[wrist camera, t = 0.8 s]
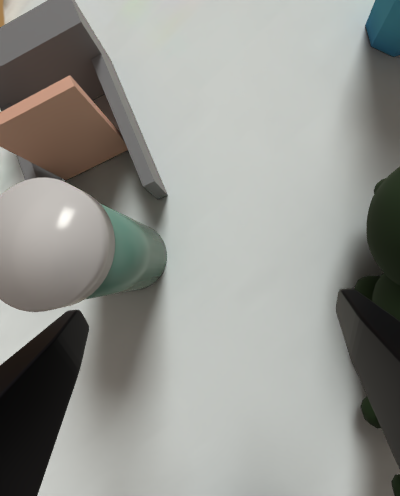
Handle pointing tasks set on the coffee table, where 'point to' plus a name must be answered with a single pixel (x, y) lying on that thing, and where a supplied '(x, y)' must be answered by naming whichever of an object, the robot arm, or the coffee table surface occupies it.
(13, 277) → the jar
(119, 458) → the coffee table surface
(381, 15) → the cup
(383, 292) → the toy figurine
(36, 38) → the pusher lane
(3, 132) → the pusher plate
